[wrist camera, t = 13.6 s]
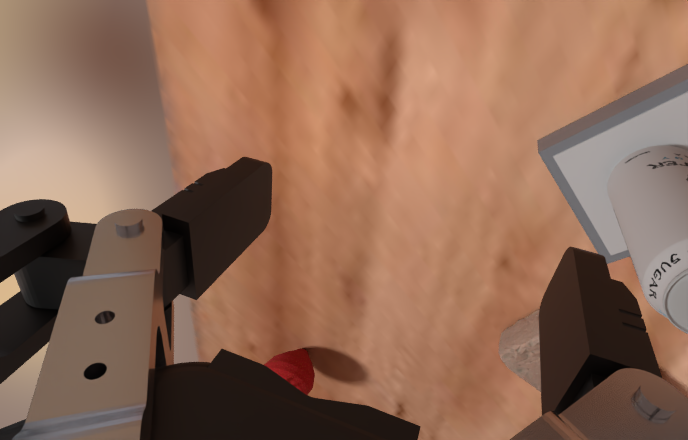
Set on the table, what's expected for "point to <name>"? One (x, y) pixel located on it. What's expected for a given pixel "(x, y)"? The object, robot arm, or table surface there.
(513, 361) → the brick
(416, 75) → the table surface
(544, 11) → the table surface
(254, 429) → the robot arm
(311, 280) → the table surface
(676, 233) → the energy drink can
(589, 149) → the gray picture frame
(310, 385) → the strawberry
